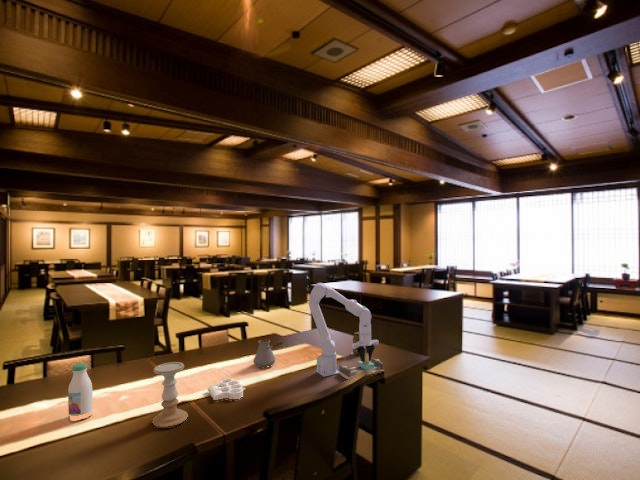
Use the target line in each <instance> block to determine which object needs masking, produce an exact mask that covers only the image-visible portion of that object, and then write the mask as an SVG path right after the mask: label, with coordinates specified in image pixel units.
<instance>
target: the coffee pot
mask: <svg viewBox="0 0 640 480" xmlns="http://www.w3.org/2000/svg"><path fill="white" fill-rule="evenodd" d="M257 343H258V348H257V351H256V354H255V355H254V357H253V364H254V365H255V366H259V367H267V366H271V365H272V366H273V365H274V364H275V363H276V356H275V354H274V352H273V351H272V348H274V347H275V348H276V347H278V346H280V345H281V346H284V347H286V345H287V343H286V342H285V341H282V342H279V343H275V344H273V345H270V343H271V340H270V339H260V340H258V341H257ZM284 344H285V345H284ZM272 366H271V367H272ZM259 367H258V368H259Z"/></svg>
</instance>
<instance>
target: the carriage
mask: <svg viewBox="0 0 640 480" xmlns="http://www.w3.org/2000/svg"><path fill="white" fill-rule="evenodd" d="M357 366H360V367H361V368H363V369H365V370H367V369H372V368H374V364H373V363H371V360H370V361H369V353H368V352H366V351H365V361H364V362H362V361H361V360H358V361H357Z"/></svg>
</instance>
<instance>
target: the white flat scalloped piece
mask: <svg viewBox="0 0 640 480" xmlns="http://www.w3.org/2000/svg"><path fill="white" fill-rule="evenodd" d="M219 387H221V388H219ZM206 389H208V390H207V392H208V391H209V392H210V393H209V392H208V393H209V394H211V395H210V397H211V398H212V400H213V401H214V400H218V399H223V398H229V399H239V400H241V399H242V398H241V397H243V398H244V391H245V390H246V389H247V388H245V387H243V384H242V383H240V381H239V380H234V378H224V379H221V380H220V381H219V383H214V384H212V385H210V386H208V387H207V388H206ZM240 398H241V399H240Z"/></svg>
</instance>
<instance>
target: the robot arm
mask: <svg viewBox="0 0 640 480" xmlns="http://www.w3.org/2000/svg"><path fill="white" fill-rule="evenodd" d="M324 297H325V298H332V299H334V300H336V301H337V302H339V303H341V304H342V305H344V307H345V310H346V311H347V312H349V313H351V314H353V315H354V316H356V317H359V324H358V325H359V326H358V329H359V331H358V332H359V336H360V341H359V342H357V343H354V344H353V343H352V344H351V348H352V350H353V349H357V350H358V353H359V355H360V357H359V358H360V361H362V362H364V361H365V352H368V353H369V361H370V362H371V358H372V356H373V354H374V351H375V348H376V346H375V345H377V346H378V345H379V341H380V340H378V339H372V323H371V322H372V321H371V320H372V317H373V316H372V313H371V311H370V309H368V307H366V306H365V305H362V304H360V303H358V301H357V300H356V299H348V298H346V297H345V296H344V295H342V294H341V293H339V291H337V290H335V289H334V288H332V287H330V286H329V285H327V284H325V283H323V282H317V283H316V284H315V285H314V287H313V288H312V290H311V292H310V296H309V300H308V307H309V310H310V312H311V315H312V317H313V320H314V321H313V322H314V323H315V327H316V328H317V332H318V335H319V337H320V341H321V342H320V343H321V345H322V346H321V347H322V348H321V350H322V352H321V355H319V356H317V357H316V373H318V375H321V377H324V378H325V377H328V376H329V377H330V376H333V375H338V374H339V370H338V369H337V368H338V367H337V365H338V364H337V363H338V361H337V352H336V341H335V340H334V339H333V338H332V336H331V334H330V332H329V328H328V327H327V323H326V320H325V318H324V315H323V312H322V309H321V307H320V305H319V304H320V302H321V300H322V299H323V298H324Z"/></svg>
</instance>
